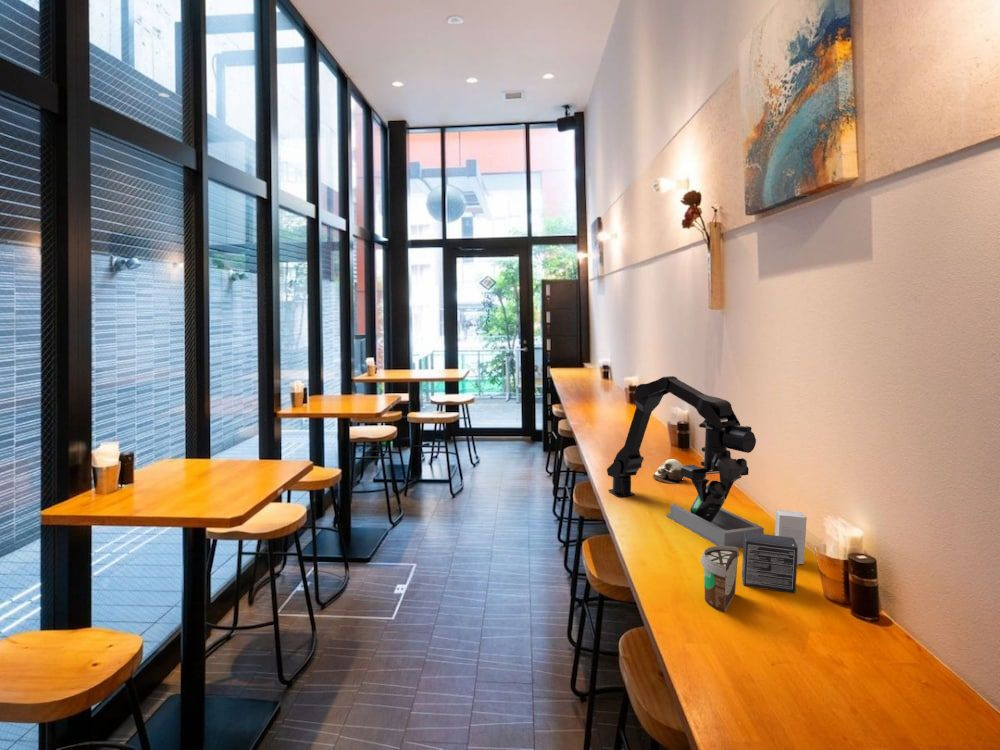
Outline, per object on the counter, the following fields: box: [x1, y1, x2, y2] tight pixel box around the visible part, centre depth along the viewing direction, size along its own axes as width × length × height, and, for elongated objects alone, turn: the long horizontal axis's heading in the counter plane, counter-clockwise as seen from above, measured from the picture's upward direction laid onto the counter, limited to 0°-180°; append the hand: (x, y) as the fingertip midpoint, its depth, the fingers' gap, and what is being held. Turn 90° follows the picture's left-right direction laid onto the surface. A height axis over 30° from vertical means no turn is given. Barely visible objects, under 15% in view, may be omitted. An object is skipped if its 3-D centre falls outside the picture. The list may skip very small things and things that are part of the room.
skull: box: [652, 458, 687, 485], centre depth 207 cm, size 12×10×10 cm
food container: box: [700, 545, 740, 613], centre depth 119 cm, size 12×6×10 cm, turn 145°
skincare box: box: [774, 509, 808, 565], centre depth 138 cm, size 6×4×12 cm
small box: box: [741, 532, 798, 594], centre depth 126 cm, size 11×6×10 cm, turn 71°
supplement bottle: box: [689, 480, 726, 522], centre depth 160 cm, size 7×7×12 cm
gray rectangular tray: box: [665, 503, 765, 549], centre depth 158 cm, size 25×13×4 cm, turn 19°
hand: (713, 500), depth 158 cm, fingers closed on supplement bottle, 7 cm apart
